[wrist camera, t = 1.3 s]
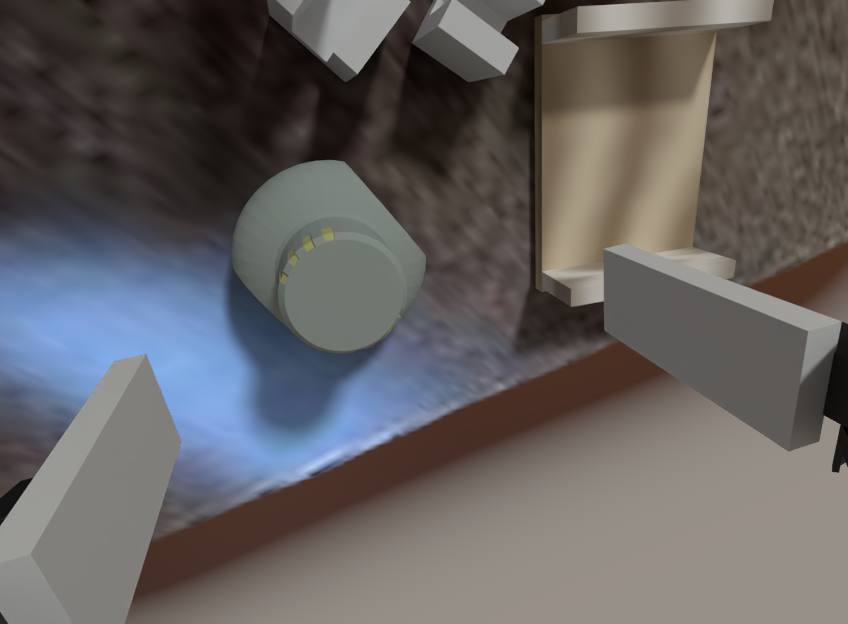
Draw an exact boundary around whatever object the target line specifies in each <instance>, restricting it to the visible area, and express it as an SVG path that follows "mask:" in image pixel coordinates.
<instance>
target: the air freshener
mask: <svg viewBox="0 0 848 624" xmlns="http://www.w3.org/2000/svg"><path fill="white" fill-rule="evenodd" d="M231 258H232V267H233V269H234V271H235V273H236V274H237V275H238V277H239V278H240V279H241V281H242V282H243V283H244V285H245V286H246V287H247V288H248V289H249V290H250V292H251V293H252V294H253V295H254V296H255V297H256V298H257V299H258V300H259V301H260V302H261V303H262V304H263V305H264V306H265V307H266V308H267V309H268V310H269V311H270V312H271V313H272V314H273V315H274V316H275V317H276V318H277V319H278V320H279V321H281V322H282V323H283V324H284V325H285V326H286V327H287V328H289V329H290V330H291V332H292V333H293V334H294V335H295V336H296V337H297V338H298V339H300V340H301V341H302V342H304V343H305V344H307V345H308V346H310V347H312V348H314V349H317V350H320V351H323V352H327V353H333V354H348V353H355V350H359V349H362V348H364V350H365V349H368V348H370V347H372V346H374V344H375V343H377V342H378V341H380V340H383V339H384V338H385V337H387V336H388V335H389V334H390V333H389V332H390V331H391V330H392V329H393V327H394V326H396V325H397V324H398V322H399V321H400V320H401V319H402V317H403V316H404V315H405V314H406V313H407V311H408V310H409V309H410V307H411V306H412V304H413V302H414V300H415V299H416V297H417V295H418V292H419V290H420V287H421V285H422V282H423V278H424V273H425V268H426V256H425V254H424V253H423V252H422V251H421V249H420V248H419V247H418V246H417V245H416V243H415V242H414V241H413V240H412V239H411V237H410V236H409V235H408V234H407V233H406V232H405V230H404V229H403V228H402V227H401V226H400V224H399V223H398V222H397V221H396V220H395V219H394V217H393V216H392V215H391V214H390V213H389V212H388V210H387V209H386V208H385V207H384V206H383V205H382V204H381V202H380V201H379V200H378V199H377V198H376V197H375V196H374V194H373V193H372V192H371V191H370V190H369V189H368V188H367V186H366V185H365V184H364V183H363V182H362V181H361V180H360V178H359V177H358V176H357V175H356V174H355V173H354V172H353V171H352V170H351V168H350V167H349V166H348V165H347V164H346V163H345V162H344V161H336V160H321V161H312V162H307V163H302V164H298V165H296V166H293V167H291V168H288V169H286V170H283V171H282V172H280V173H278V174H277V175H275V176H274V177H272V178H270V179H269V180H268V181H266V182H265V183H264V184H263V185H262V186H261V187H260V188H259V189H258V190H257V191H256V192H255V193H254V194H253V195H252V197H251V198H250V199H249V201H248V202H247V203H246V205H245V207H244V209H243V211H242V213H241V215H240V216H239V218H238V220H237V224H236V227H235V231H234V234H233V239H232V249H231Z"/></svg>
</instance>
